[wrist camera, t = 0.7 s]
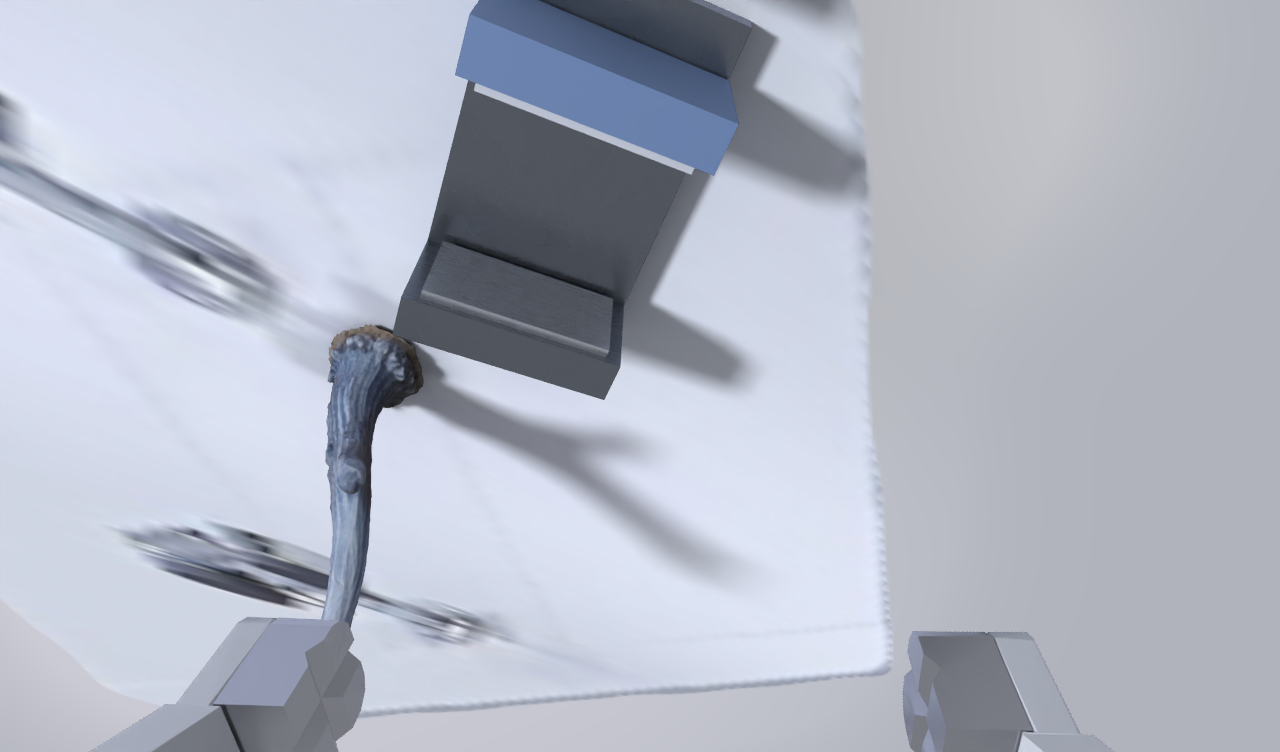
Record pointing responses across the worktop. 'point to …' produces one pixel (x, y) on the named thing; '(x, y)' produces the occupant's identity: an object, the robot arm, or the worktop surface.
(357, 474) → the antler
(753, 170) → the worktop surface
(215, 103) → the worktop surface
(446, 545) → the worktop surface
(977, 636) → the robot arm
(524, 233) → the base
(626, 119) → the sliding jaw
